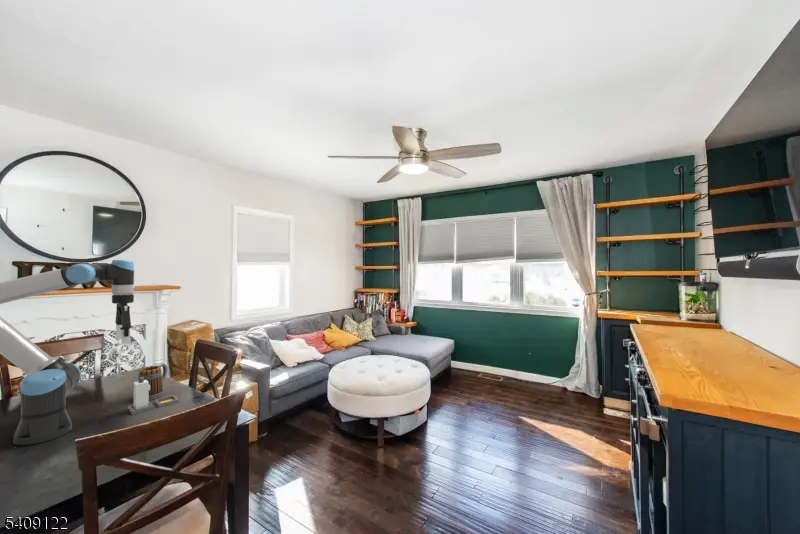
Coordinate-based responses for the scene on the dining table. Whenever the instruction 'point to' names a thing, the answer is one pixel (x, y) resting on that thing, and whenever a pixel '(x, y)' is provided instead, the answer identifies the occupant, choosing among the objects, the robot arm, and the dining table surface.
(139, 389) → the plug
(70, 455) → the dining table surface
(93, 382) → the dining table surface
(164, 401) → the panel
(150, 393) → the mug
